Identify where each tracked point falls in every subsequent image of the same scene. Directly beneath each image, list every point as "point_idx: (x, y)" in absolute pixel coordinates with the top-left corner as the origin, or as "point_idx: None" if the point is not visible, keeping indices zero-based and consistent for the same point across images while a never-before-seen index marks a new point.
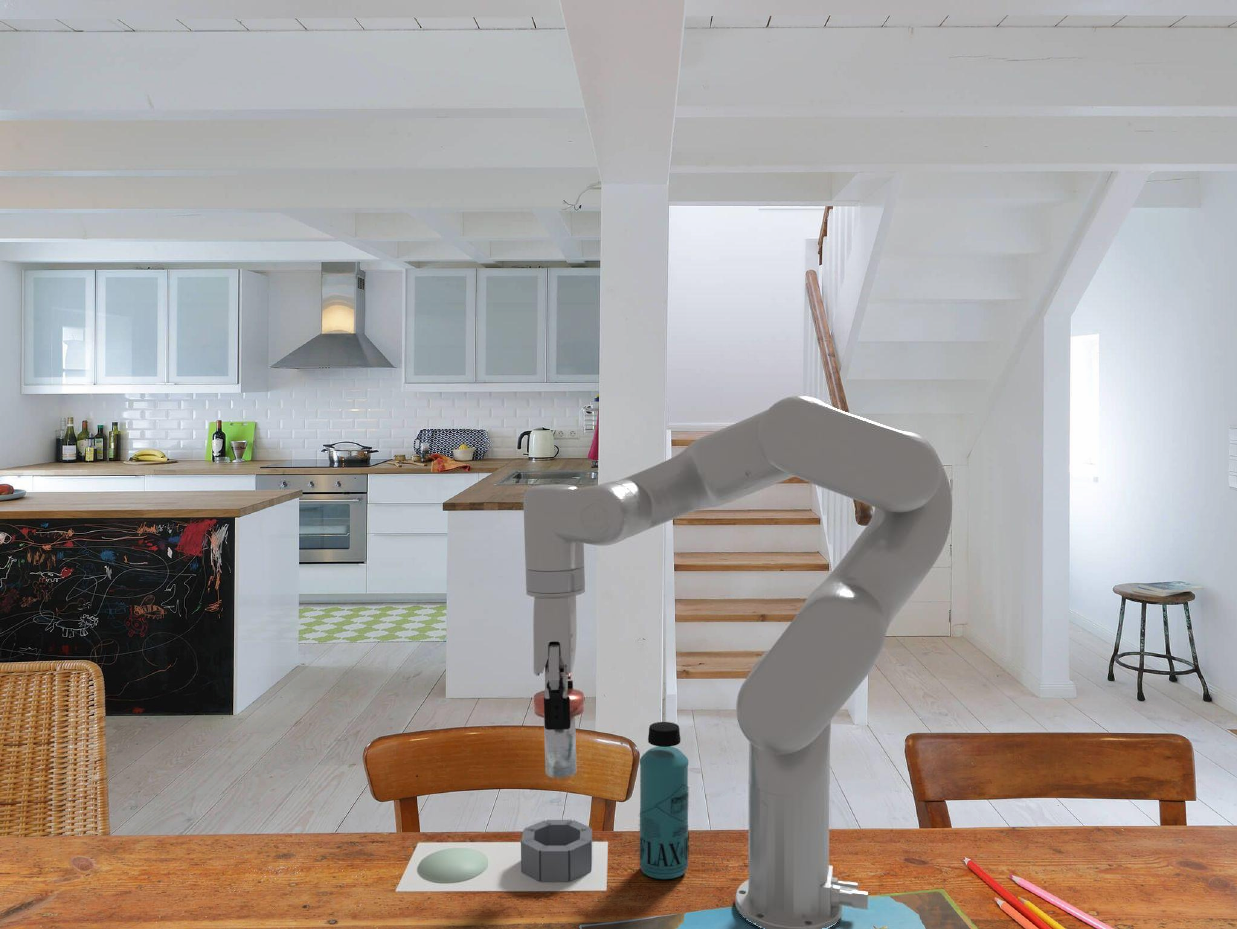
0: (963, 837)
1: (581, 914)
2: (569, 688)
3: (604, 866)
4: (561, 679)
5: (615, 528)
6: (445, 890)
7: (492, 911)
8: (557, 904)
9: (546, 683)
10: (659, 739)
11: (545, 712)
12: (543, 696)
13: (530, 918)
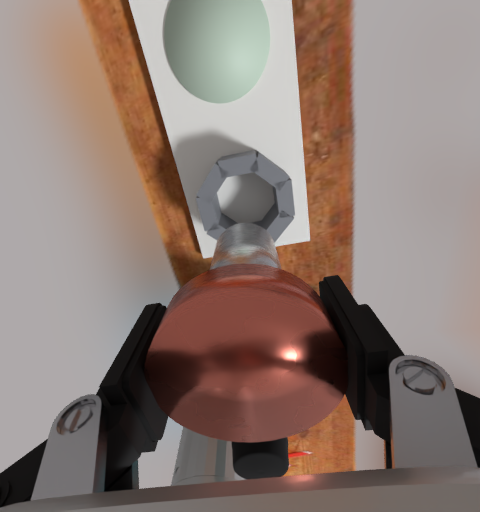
0: (340, 455)
1: (170, 238)
2: (347, 395)
3: None
4: (372, 408)
5: None
6: (148, 62)
7: (145, 143)
8: (181, 211)
9: (40, 485)
10: (232, 448)
11: (127, 342)
12: (223, 337)
13: (146, 191)
